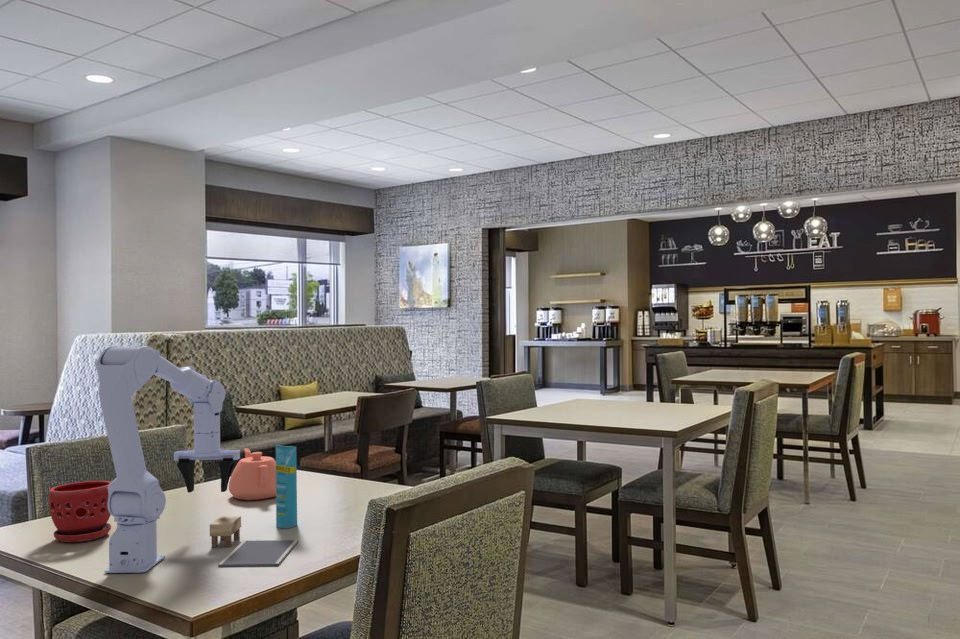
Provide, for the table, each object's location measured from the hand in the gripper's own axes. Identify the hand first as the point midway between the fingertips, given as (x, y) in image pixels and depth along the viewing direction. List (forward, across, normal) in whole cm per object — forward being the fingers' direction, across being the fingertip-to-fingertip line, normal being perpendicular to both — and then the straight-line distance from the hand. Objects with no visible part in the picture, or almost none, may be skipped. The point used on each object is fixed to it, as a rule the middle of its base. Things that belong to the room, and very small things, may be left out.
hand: (207, 491), depth 169 cm
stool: (+10, -6, +7) cm, 14 cm away
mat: (+10, -16, +15) cm, 24 cm away
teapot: (+10, 0, -38) cm, 39 cm away
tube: (+10, -17, -6) cm, 20 cm away
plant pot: (+10, +28, 0) cm, 30 cm away
